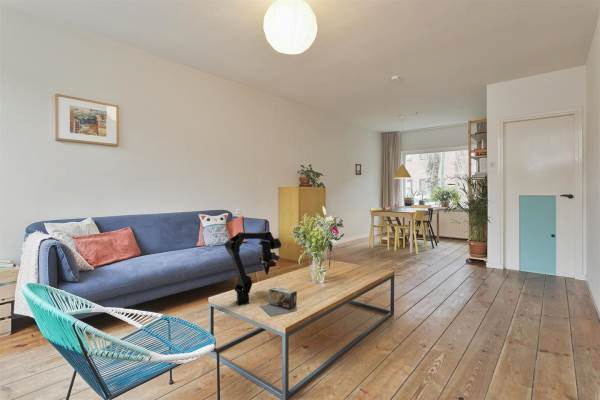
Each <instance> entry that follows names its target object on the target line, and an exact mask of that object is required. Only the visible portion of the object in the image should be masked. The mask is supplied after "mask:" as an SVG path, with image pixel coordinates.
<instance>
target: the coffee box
mask: <svg viewBox="0 0 600 400" xmlns="http://www.w3.org/2000/svg"><path fill="white" fill-rule="evenodd" d="M297 295H298V291H296V290H293V289H288V288H284V287H280V286H279V287H278V286H273V287H270V288H269V289H268V304H272V305H276V306H279V307H283V308H287V309H292V308H296V307H297V300H298V299H297V298H298V297H297Z"/></svg>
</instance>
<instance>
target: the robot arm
mask: <svg viewBox="0 0 600 400" xmlns="http://www.w3.org/2000/svg"><path fill="white" fill-rule="evenodd" d="M245 240H260V242H258V245H261V251H260V254H261V256H258V257H257V262H258V263H259V262H261V263H260V265H261V267H262V269H263V272H264V273H265V275H268V274H269V273H270V268H272V267H276V266H277V262H279V260H280V257H281V256H279V255H278V254H276V252H273V251H272V250H276V249H277V250H278V249H280V248H281V247H282V242H281V241H280V238H278V237H275V238H274V236H273V233H272V232H270V231H266V230H261V231H258V232H242V231H241V232H240V231H239V232H237V233H236V235H234V236H233V237H230V239H229V240H227V241H226V242H225V244H224V248H225V250H226V252H227V253H228V255H230V256H231V259H232V263H233V265H234V268H235V271H236V274H237V284H236V286H235V288H234V292H236V300H235V302H236V304H237V305H239V306H241V305H246V304H250V302H249V301H250V293H251V289H252V286H253V281H252V277H251V276H250V275H247V274H246V271H245V268H244V265H243V262H242V259H241V256H240V252H241V251H240V250H241V248H240V247H241V246H242V245H243V242H244V241H245ZM275 261H277V262H275Z"/></svg>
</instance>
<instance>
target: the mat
mask: <svg viewBox="0 0 600 400" xmlns="http://www.w3.org/2000/svg"><path fill="white" fill-rule="evenodd" d="M259 308H261V309H262V310H263V311H264V312H266V314H268V316H270V317H274V316H279V315H285V314H288V313H292V312H293V313H294V312H297V311H298V310H297V309H296V307H294V308H292V309H287V308H283V307H279V306H276V305H272V304H269V303H267V304H264V305H260V306H259Z"/></svg>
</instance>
